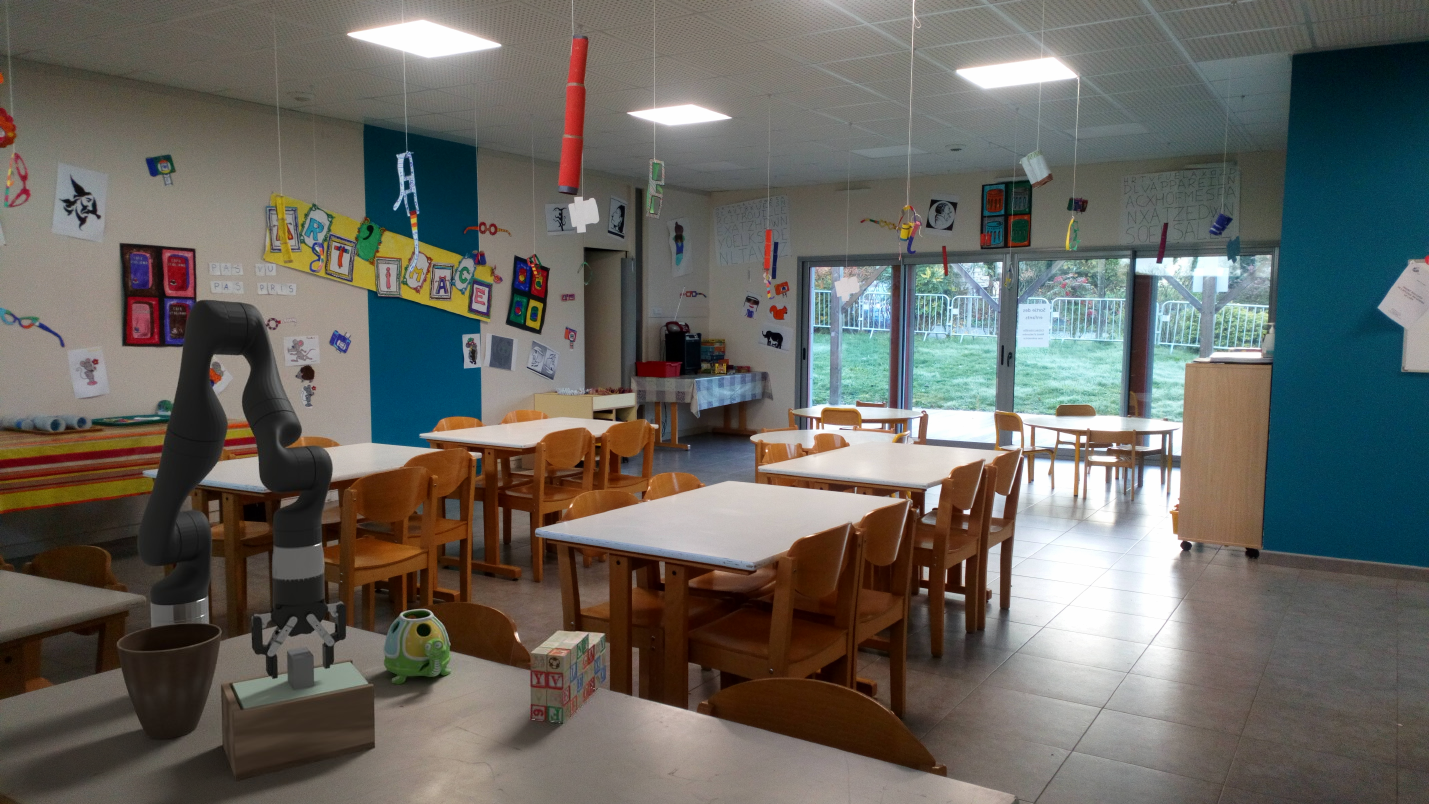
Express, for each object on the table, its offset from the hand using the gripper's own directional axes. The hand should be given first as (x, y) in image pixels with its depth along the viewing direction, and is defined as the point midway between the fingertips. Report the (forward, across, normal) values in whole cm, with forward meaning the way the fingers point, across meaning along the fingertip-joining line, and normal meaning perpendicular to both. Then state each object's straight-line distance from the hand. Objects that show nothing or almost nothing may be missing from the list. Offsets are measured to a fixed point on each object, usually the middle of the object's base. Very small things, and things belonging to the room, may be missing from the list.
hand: (300, 671), depth 147 cm
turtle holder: (+12, -26, -20) cm, 35 cm away
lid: (+3, 0, 0) cm, 3 cm away
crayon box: (+12, 0, 0) cm, 12 cm away
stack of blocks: (+12, -45, +6) cm, 47 cm away
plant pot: (+12, +16, -18) cm, 27 cm away
